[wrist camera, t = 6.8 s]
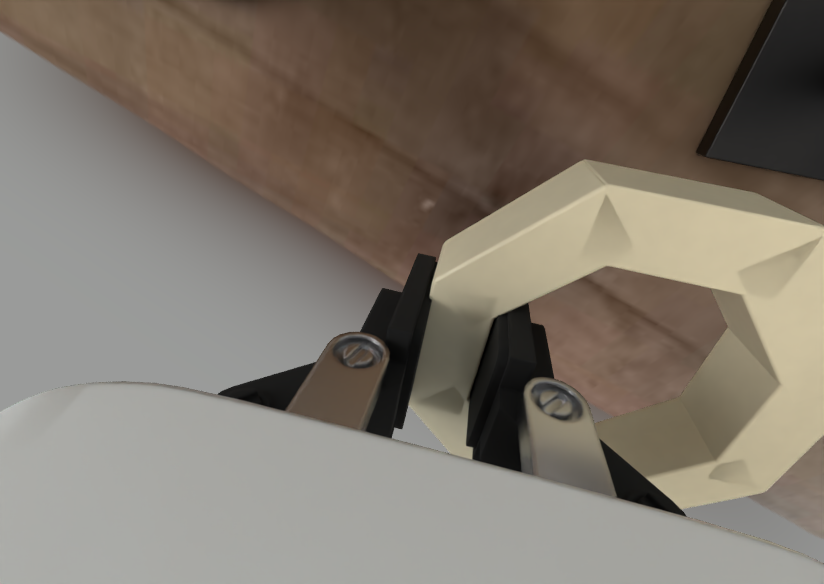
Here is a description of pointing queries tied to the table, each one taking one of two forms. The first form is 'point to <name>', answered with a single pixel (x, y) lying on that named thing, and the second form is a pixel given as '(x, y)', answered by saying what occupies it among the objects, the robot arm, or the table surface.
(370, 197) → the table surface
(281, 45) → the table surface
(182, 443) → the robot arm
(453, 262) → the ivory ring
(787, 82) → the stand
